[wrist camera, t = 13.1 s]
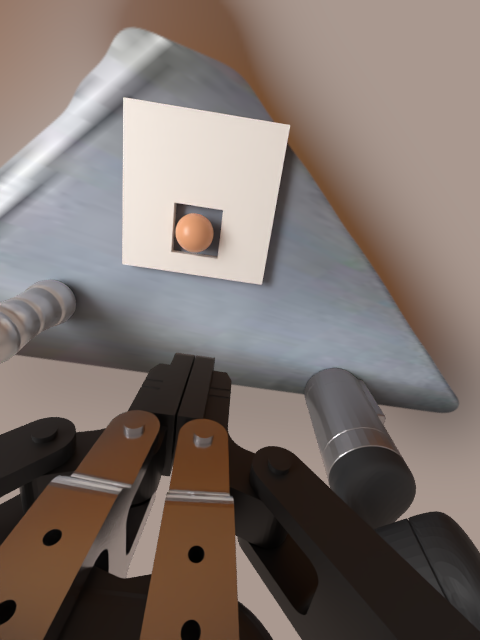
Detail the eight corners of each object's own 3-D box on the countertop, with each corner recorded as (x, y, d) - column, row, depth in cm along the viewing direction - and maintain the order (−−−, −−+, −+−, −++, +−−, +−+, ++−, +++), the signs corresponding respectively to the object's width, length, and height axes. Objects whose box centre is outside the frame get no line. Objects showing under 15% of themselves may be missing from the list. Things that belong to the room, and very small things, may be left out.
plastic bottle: (47, 319, 50) (-72, 394, 31) (32, 277, 47) (-107, 332, 29) (87, 315, 49) (-10, 389, 31) (74, 273, 47) (-40, 326, 28)
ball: (211, 255, 40) (209, 255, 45) (217, 215, 39) (215, 219, 44) (171, 248, 39) (174, 248, 44) (177, 207, 38) (179, 212, 43)
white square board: (288, 127, 39) (290, 125, 38) (261, 282, 47) (261, 284, 45) (127, 100, 38) (123, 97, 37) (126, 261, 46) (122, 264, 45)
